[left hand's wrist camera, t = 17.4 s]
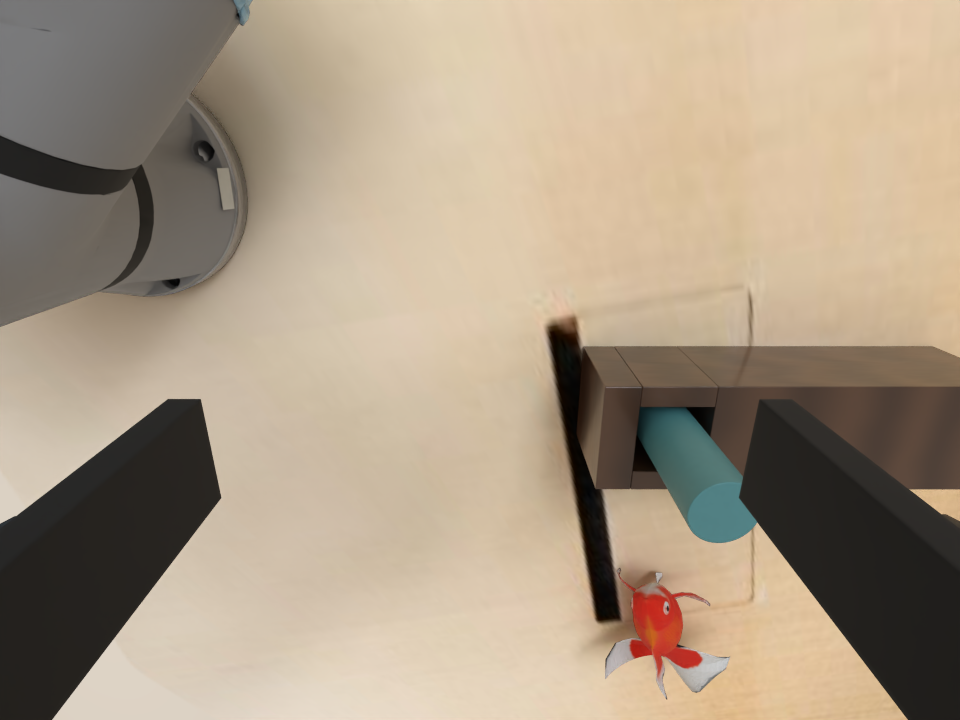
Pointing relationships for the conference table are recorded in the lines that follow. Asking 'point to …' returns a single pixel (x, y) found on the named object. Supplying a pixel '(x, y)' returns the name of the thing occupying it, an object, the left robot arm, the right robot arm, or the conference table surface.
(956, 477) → the walnut block
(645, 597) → the fish
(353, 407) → the conference table surface
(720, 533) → the teal peg
